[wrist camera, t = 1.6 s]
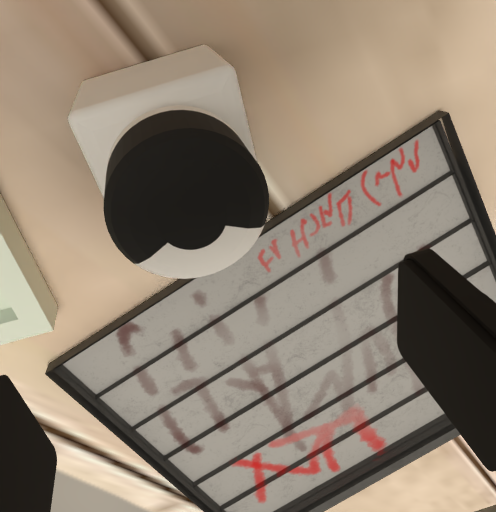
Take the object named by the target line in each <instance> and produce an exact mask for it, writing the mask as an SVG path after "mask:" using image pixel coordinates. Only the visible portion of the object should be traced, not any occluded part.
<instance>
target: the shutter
mask: <svg viewBox="0 0 496 512" xmlns="http://www.w3.org/2000/svg"><path fill="white" fill-rule="evenodd" d="M440 118H442V120H443V123H444V126H445V130H446V133H447V136H448V139H449V142H450V144H449V142H448V139H447V137H446V134H445V132H444V129H443V127H442V124H441V122H440V120H438V119H440ZM429 127H430V128H429ZM426 129H427V130H426ZM421 132H422V133H421ZM418 134H419V135H418ZM450 145H451V147H450ZM451 148H452V149H451ZM427 248H429V249H432V250H433V251H434V252H436V253H437V254H438V255H439V256H440V257H441V258H443V259H444V260H445V261H446V262H447V263H448V264H450V265H451V266H452V267H453V268H454V269H455V270H457V271H458V272H459V273H460V274H461V275H462V276H464V277H465V278H466V279H467V280H468V281H469V282H471V283H472V284H473V285H474V286H475V287H476V288H478V289H479V290H480V291H481V292H483V293H484V294H486V295H487V296H488V297H489V298H491V299H492V300H493V301H494V302H495V303H496V235H495V232H494V229H493V227H492V224H491V222H490V219H489V216H488V214H487V211H486V209H485V206H484V203H483V201H482V198H481V196H480V193H479V190H478V188H477V185H476V182H475V180H474V177H473V175H472V172H471V169H470V167H469V164H468V162H467V159H466V156H465V154H464V151H463V149H462V146H461V143H460V141H459V138H458V136H457V133H456V130H455V128H454V125H453V123H452V120H451V117H450V115H449V113H447V112H443V111H438V112H437V113H435V114H433V115H432V116H430V117H429V118H427V119H426V120H424V121H423V122H421V123H420V124H418V125H416V126H415V127H413V128H412V129H410V130H409V131H407V132H406V133H404V134H403V135H401V136H400V137H398V138H396V139H395V140H393V141H392V142H390V143H389V144H387V145H386V146H384V147H383V148H381V149H379V150H378V151H376V152H375V153H373V154H372V155H370V156H369V157H367V158H366V159H364V160H362V161H361V162H359V163H358V164H356V165H355V166H353V167H352V168H350V169H349V170H347V171H346V172H344V173H342V174H341V175H339V176H338V177H336V178H335V179H333V180H332V181H330V182H329V183H327V184H325V185H324V186H322V187H321V188H319V189H318V190H316V191H315V192H313V193H312V194H310V195H308V196H307V197H305V198H304V199H302V200H301V201H299V202H298V203H296V204H295V205H293V206H292V207H290V208H288V209H287V210H285V211H284V212H282V213H281V214H279V215H278V216H276V217H275V218H273V219H271V220H270V221H268V222H267V223H265V225H264V227H263V230H262V232H261V234H260V236H259V237H258V239H257V241H256V242H255V244H254V245H253V246H252V247H251V248H250V250H249V251H248V252H247V253H246V254H245V255H244V256H243V257H242V258H240V259H239V260H238V261H236V262H235V263H234V264H232V265H230V266H229V267H227V268H225V269H223V270H221V271H219V272H216V273H214V274H210V275H207V276H203V277H198V278H188V279H179V280H177V281H176V282H174V283H173V284H171V285H170V286H168V287H167V288H165V289H163V290H162V291H160V292H159V293H157V294H156V295H154V296H153V297H151V298H150V299H148V300H147V301H145V302H143V303H142V304H140V305H139V306H137V307H136V308H134V309H133V310H131V311H130V312H128V313H126V314H125V315H123V316H122V317H120V318H119V319H117V320H116V321H114V322H113V323H111V324H110V325H108V326H106V327H105V328H103V329H102V330H100V331H99V332H97V333H96V334H94V335H93V336H91V337H89V338H88V339H86V340H85V341H83V342H82V343H80V344H79V345H77V346H76V347H74V348H72V349H71V350H69V351H68V352H66V353H65V354H63V355H62V356H60V357H59V358H57V359H56V360H54V361H52V362H51V363H49V365H48V368H47V370H46V373H45V374H46V375H47V376H48V377H49V378H50V379H52V380H53V381H54V382H55V383H56V384H57V385H58V386H60V387H61V388H62V389H63V390H64V391H65V392H67V393H68V394H69V395H70V396H71V397H72V398H73V399H75V400H76V401H77V402H78V403H79V404H80V405H82V406H83V407H84V408H85V409H86V410H87V411H88V412H90V413H91V414H92V415H93V416H94V417H95V418H97V419H98V420H99V421H100V422H101V423H102V424H103V425H105V426H106V427H107V428H108V429H109V430H110V431H112V432H113V433H114V434H115V435H116V436H117V437H118V438H120V439H121V440H122V441H123V442H124V443H125V444H127V445H128V446H129V447H130V448H131V449H132V450H133V451H135V452H136V453H137V454H138V455H139V456H140V457H142V458H143V459H144V460H145V461H146V462H147V463H148V464H150V465H151V466H152V467H153V468H154V469H155V470H157V471H158V472H159V473H160V474H161V475H162V476H163V477H165V478H166V479H167V480H168V481H169V482H170V483H172V484H173V485H174V486H175V487H176V488H177V489H178V490H180V491H181V492H182V493H183V494H184V495H185V496H187V497H188V498H189V499H190V500H191V501H192V502H193V503H195V504H196V505H197V506H198V507H199V508H200V509H202V510H203V511H204V512H324V511H326V510H328V509H329V508H331V507H333V506H335V505H336V504H338V503H340V502H342V501H344V500H345V499H347V498H349V497H351V496H352V495H354V494H356V493H358V492H360V491H361V490H363V489H365V488H367V487H368V486H370V485H372V484H374V483H375V482H377V481H379V480H381V479H383V478H384V477H386V476H388V475H390V474H391V473H393V472H395V471H397V470H399V469H400V468H402V467H404V466H406V465H407V464H409V463H411V462H413V461H414V460H416V459H418V458H420V457H422V456H423V455H425V454H427V453H429V452H430V451H432V450H434V449H436V448H438V447H439V446H441V445H443V444H445V443H446V442H448V441H450V440H452V439H453V438H455V437H457V436H459V435H461V434H460V433H459V432H458V430H457V429H456V428H455V426H454V425H453V424H452V422H451V421H450V420H449V418H448V417H447V416H446V414H445V413H444V412H443V410H442V409H441V408H440V406H439V405H438V404H437V402H436V401H435V400H434V398H433V397H432V396H431V394H430V393H429V392H428V390H427V389H426V388H425V386H424V385H423V384H422V382H421V381H420V380H419V378H418V377H417V376H416V374H415V373H414V372H413V370H412V369H411V368H410V366H409V365H408V364H407V362H406V361H405V360H404V358H403V357H402V356H401V354H400V352H399V349H398V346H397V302H398V265H399V263H400V262H403V260H404V257H405V255H406V254H409V253H413V252H416V251H420V250H423V249H427Z"/></svg>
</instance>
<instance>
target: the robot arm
mask: <svg viewBox="0 0 496 512" xmlns="http://www.w3.org/2000/svg"><path fill="white" fill-rule="evenodd" d="M397 346H398V349H399V352H400V354H401V356H402V357H403V358H404V360H405V361H406V362H407V364H408V365H409V366H410V368H411V369H412V370H413V372H414V373H415V374H416V376H417V377H418V378H419V380H420V381H421V382H422V384H423V385H424V386H425V388H426V389H427V390H428V392H429V393H430V394H431V396H432V397H433V398H434V400H435V401H436V402H437V404H438V405H439V406H440V408H441V409H442V410H443V412H444V413H445V414H446V416H447V417H448V418H449V420H450V421H451V422H452V424H453V425H454V426H455V428H456V429H457V430H458V432H459V433H460V434H461V436H462V437H463V438H464V440H465V441H466V442H467V444H468V445H469V446H470V448H471V449H472V450H473V452H474V453H475V454H476V456H477V457H478V458H479V460H480V461H481V462H482V464H483V465H484V466H485V467H486V468H487V469H488V470H489V471H492V472H493V471H496V303H495V302H494V301H493V300H492V299H491V298H489V297H488V296H487V295H486V294H484V293H483V292H481V291H480V290H479V289H478V288H476V287H475V286H474V285H473V284H472V283H471V282H469V281H468V280H467V279H466V278H465V277H464V276H462V275H461V274H460V273H459V272H458V271H457V270H455V269H454V268H453V267H452V266H451V265H450V264H448V263H447V262H446V261H445V260H444V259H443V258H441V257H440V256H439V255H438V254H437V253H436V252H434V251H433V250H432V249H429V248H427V249H423V250H420V251H416V252H413V253H409V254H406V255H405V257H404V260H403V262H400V263H399V265H398V302H397ZM56 465H57V456H56V451H55V448H54V446H53V445H52V443H51V441H50V440H49V438H48V437H47V435H46V434H45V432H44V431H43V429H42V428H41V426H40V425H39V423H38V421H37V420H36V418H35V417H34V415H33V414H32V412H31V411H30V409H29V408H28V406H27V405H26V403H25V402H24V400H23V398H22V397H21V395H20V394H19V392H18V391H17V389H16V388H15V386H14V385H13V383H12V382H11V380H10V379H9V377H8V376H6V375H1V376H0V512H50V510H51V502H52V494H53V487H54V480H55V473H56ZM475 512H496V505H493V506H490V507H487V508H484V509H481V510H478V511H475Z"/></svg>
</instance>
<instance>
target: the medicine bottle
mask: <svg viewBox="0 0 496 512" xmlns="http://www.w3.org/2000/svg"><path fill="white" fill-rule="evenodd" d="M68 123H69V125H70V127H71V129H72V131H73V133H74V136H75V138H76V140H77V142H78V144H79V146H80V148H81V151H82V153H83V155H84V157H85V159H86V161H87V163H88V166H89V168H90V170H91V172H92V174H93V176H94V179H95V181H96V183H97V185H98V187H99V189H100V191H101V194H102V196H103V198H104V216H105V222H106V225H107V229H108V232H109V234H110V236H111V238H112V240H113V242H114V243H115V244H116V246H117V247H118V249H119V250H120V251H121V252H122V253H123V254H124V255H125V257H127V258H128V259H129V260H130V261H131V262H133V263H134V264H135V265H137V266H139V267H140V268H142V269H144V270H146V271H148V272H151V273H153V274H156V275H160V276H163V277H169V278H178V279H188V278H198V277H203V276H207V275H210V274H214V273H216V272H219V271H221V270H223V269H225V268H227V267H229V266H230V265H232V264H234V263H235V262H236V261H238V260H239V259H240V258H242V257H243V256H244V255H245V254H246V253H247V252H248V251H249V250H250V248H251V247H252V246H253V245H254V244H255V242H256V241H257V239H258V237H259V236H260V234H261V232H262V230H263V227H264V225H265V222H266V218H267V215H268V208H269V193H268V187H267V183H266V180H265V176H264V174H263V172H262V170H261V168H260V166H259V164H258V163H257V158H256V154H255V150H254V146H253V142H252V137H251V133H250V129H249V125H248V121H247V116H246V112H245V108H244V104H243V100H242V95H241V91H240V87H239V83H238V79H237V74H236V71H235V69H234V67H233V66H232V65H230V64H229V63H228V62H227V61H226V60H224V59H223V58H222V57H221V56H220V55H218V54H217V53H216V52H215V51H214V50H213V49H211V48H210V47H209V46H207V45H200V46H197V47H193V48H190V49H187V50H184V51H180V52H177V53H174V54H170V55H167V56H164V57H160V58H157V59H154V60H150V61H147V62H144V63H140V64H137V65H134V66H130V67H127V68H124V69H120V70H117V71H114V72H110V73H107V74H104V75H100V76H97V77H94V78H90V79H87V80H84V81H83V82H81V84H80V87H79V90H78V92H77V95H76V97H75V100H74V103H73V105H72V108H71V110H70V113H69V115H68Z"/></svg>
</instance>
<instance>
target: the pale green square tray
mask: <svg viewBox="0 0 496 512" xmlns="http://www.w3.org/2000/svg"><path fill="white" fill-rule="evenodd" d="M57 309H58V305H57V303H56V301H55V299H54V298H53V296H52V294H51V292H50V290H49V288H48V286H47V284H46V282H45V280H44V278H43V276H42V274H41V272H40V270H39V268H38V266H37V264H36V262H35V260H34V258H33V256H32V254H31V253H30V251H29V249H28V247H27V245H26V243H25V241H24V239H23V237H22V235H21V233H20V231H19V229H18V227H17V225H16V223H15V221H14V219H13V217H12V215H11V213H10V211H9V209H8V208H7V206H6V204H5V202H4V200H3V198H2V196H1V194H0V345H3V344H6V343H10V342H14V341H17V340H21V339H25V338H28V337H32V336H36V335H39V334H43V333H47V332H50V331H53V330H54V325H55V320H56V315H57Z"/></svg>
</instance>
